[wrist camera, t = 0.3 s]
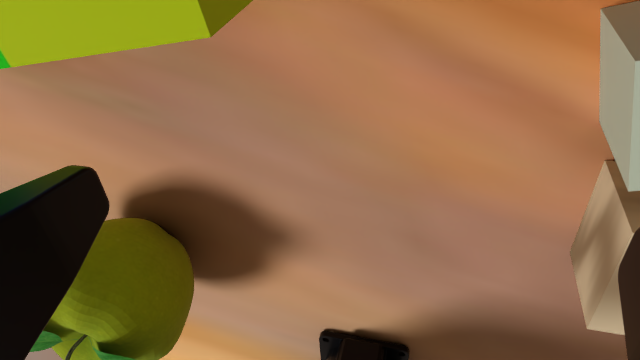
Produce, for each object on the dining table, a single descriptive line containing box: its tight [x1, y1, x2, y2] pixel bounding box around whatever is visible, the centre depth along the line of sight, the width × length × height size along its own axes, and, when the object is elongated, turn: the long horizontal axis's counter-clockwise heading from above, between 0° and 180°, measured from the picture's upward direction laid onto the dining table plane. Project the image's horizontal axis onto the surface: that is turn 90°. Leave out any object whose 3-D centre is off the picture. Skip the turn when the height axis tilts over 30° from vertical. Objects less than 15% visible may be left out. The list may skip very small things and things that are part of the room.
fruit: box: [30, 218, 194, 360], centre depth 30 cm, size 9×9×10 cm
